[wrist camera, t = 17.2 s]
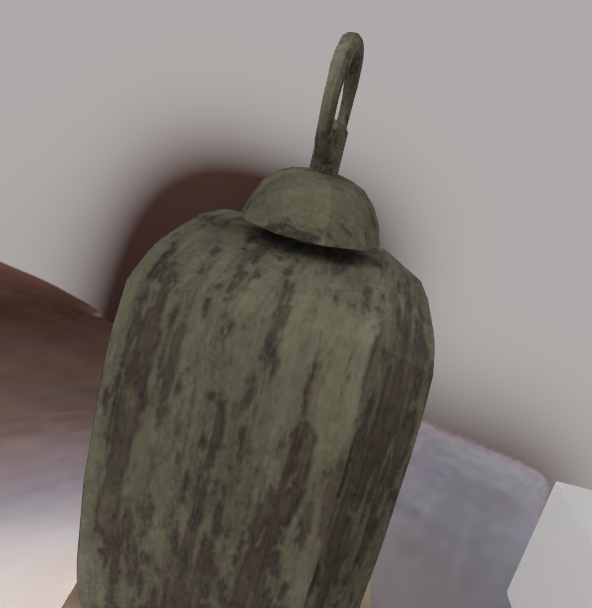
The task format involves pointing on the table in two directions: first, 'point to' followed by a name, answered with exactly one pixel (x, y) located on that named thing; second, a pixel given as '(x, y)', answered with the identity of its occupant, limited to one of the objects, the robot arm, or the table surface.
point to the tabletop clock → (258, 398)
